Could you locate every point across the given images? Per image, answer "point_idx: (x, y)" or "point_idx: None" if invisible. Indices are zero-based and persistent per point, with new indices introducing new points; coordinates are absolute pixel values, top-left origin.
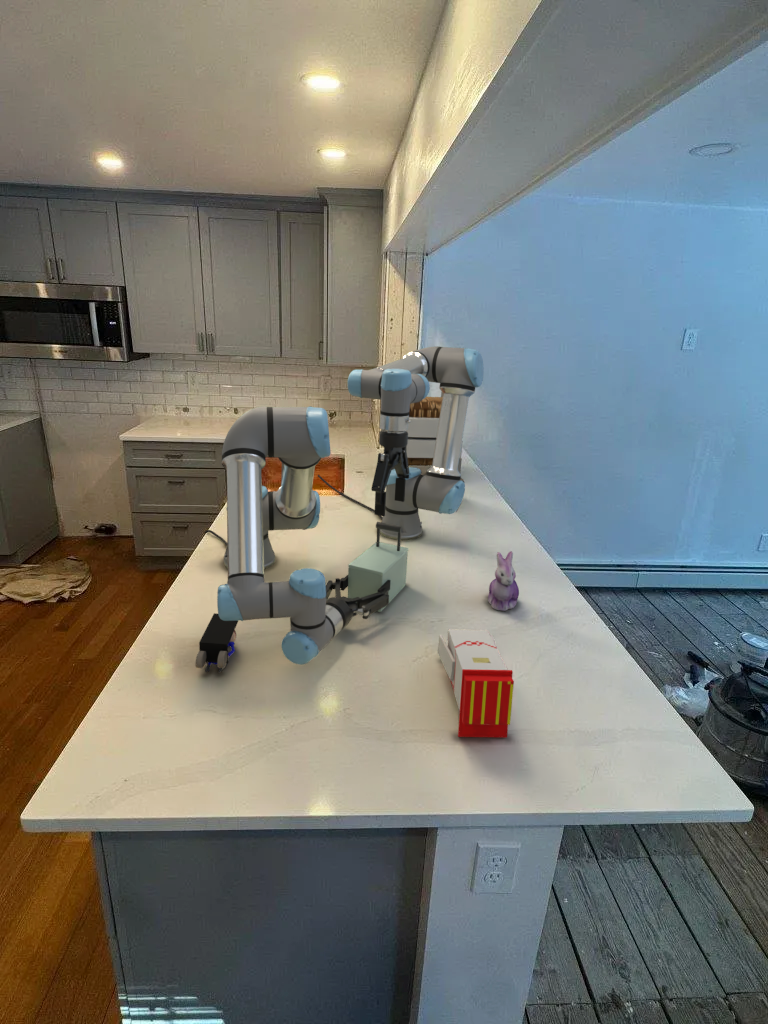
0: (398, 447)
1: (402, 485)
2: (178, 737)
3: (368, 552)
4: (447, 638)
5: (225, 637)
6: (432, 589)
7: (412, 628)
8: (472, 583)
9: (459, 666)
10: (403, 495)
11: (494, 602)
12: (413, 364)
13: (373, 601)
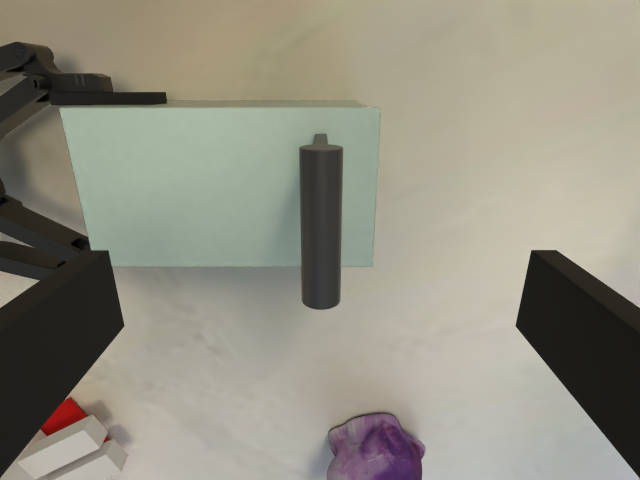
0: None
1: (624, 429)
2: None
3: (230, 131)
4: (90, 416)
5: None
6: (362, 288)
7: (142, 309)
8: (445, 364)
9: None
10: (547, 360)
11: (334, 442)
12: None
13: (12, 263)
